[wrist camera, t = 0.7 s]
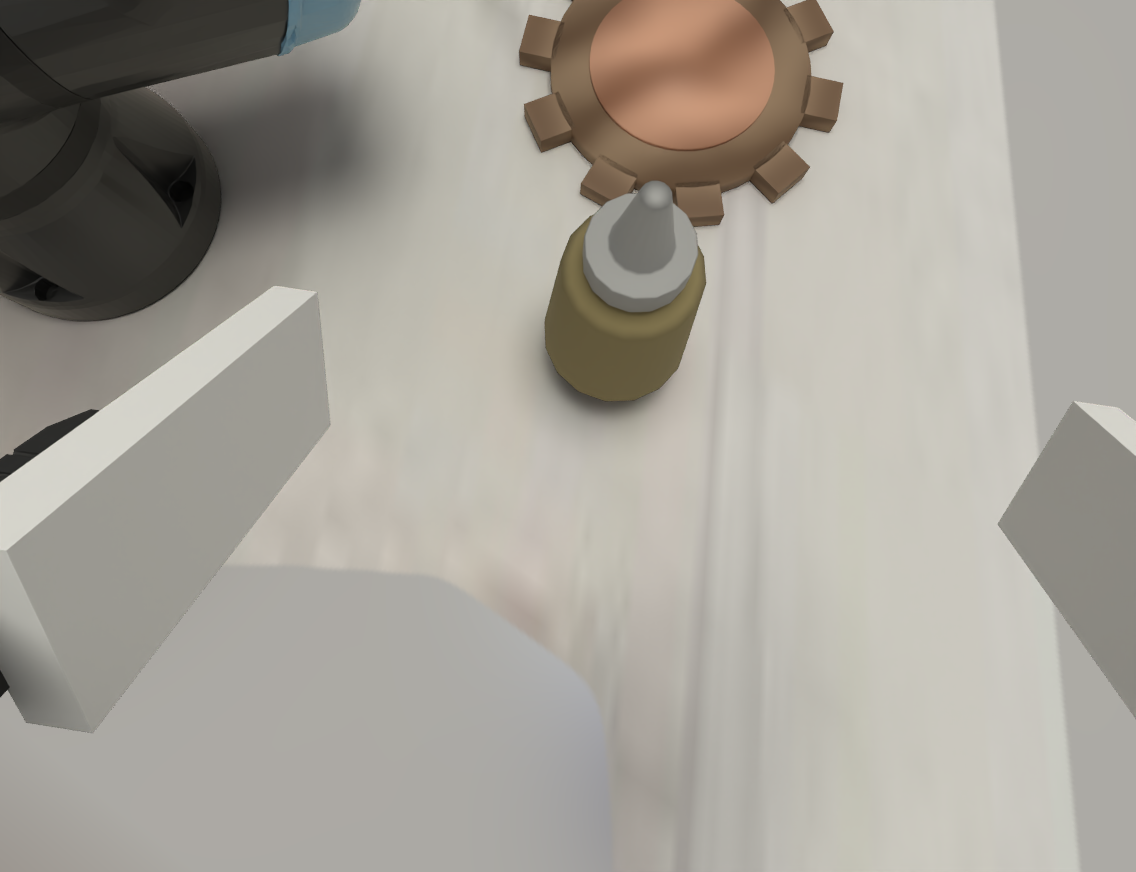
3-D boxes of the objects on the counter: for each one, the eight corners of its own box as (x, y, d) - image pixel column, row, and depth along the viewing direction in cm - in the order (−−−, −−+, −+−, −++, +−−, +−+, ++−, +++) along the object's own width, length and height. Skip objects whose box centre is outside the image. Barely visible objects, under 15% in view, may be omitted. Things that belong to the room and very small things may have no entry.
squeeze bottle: (518, 336, 40) (492, 170, 23) (622, 265, 41) (676, 51, 24) (596, 441, 39) (633, 352, 22) (701, 365, 40) (818, 221, 23)
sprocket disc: (456, 62, 43) (453, 45, 42) (684, -106, 46) (689, -128, 45) (670, 289, 41) (675, 279, 40) (897, 97, 44) (909, 81, 42)
